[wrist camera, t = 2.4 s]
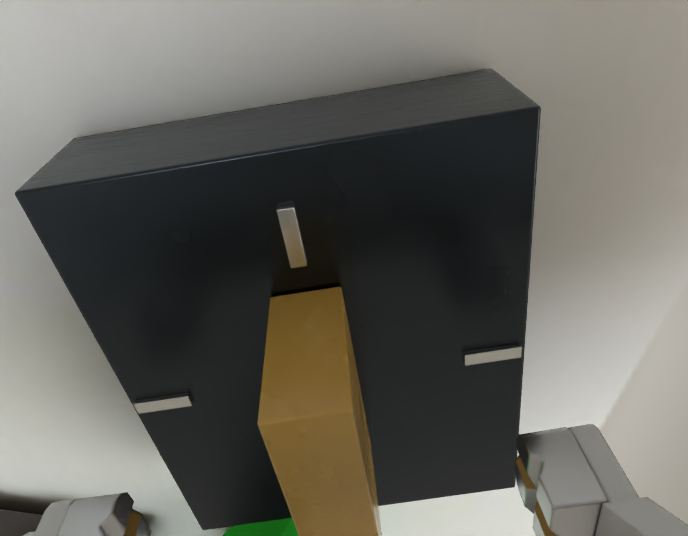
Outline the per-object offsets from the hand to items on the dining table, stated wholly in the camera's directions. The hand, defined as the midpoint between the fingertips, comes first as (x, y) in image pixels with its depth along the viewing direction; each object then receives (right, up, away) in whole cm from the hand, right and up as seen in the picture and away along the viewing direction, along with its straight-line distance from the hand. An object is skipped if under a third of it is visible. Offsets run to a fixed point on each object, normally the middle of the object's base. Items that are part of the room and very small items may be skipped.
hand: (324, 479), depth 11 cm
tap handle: (0, +2, +2) cm, 3 cm away
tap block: (0, +3, +5) cm, 6 cm away
